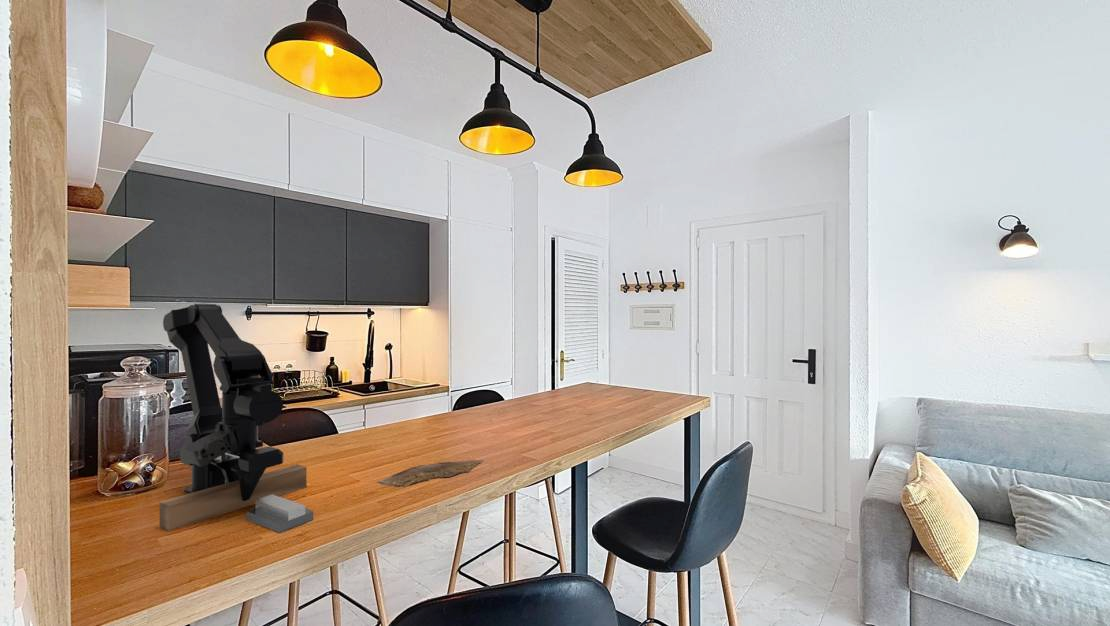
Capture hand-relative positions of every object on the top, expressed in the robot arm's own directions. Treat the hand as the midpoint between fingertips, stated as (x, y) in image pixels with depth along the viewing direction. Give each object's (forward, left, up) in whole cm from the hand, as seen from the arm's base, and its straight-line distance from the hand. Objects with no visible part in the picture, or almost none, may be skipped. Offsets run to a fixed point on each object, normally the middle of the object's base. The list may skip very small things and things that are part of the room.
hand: (240, 498), depth 93 cm
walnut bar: (0, 0, -2) cm, 2 cm away
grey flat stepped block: (+13, 0, -1) cm, 13 cm away
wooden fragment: (+18, +33, -2) cm, 38 cm away
